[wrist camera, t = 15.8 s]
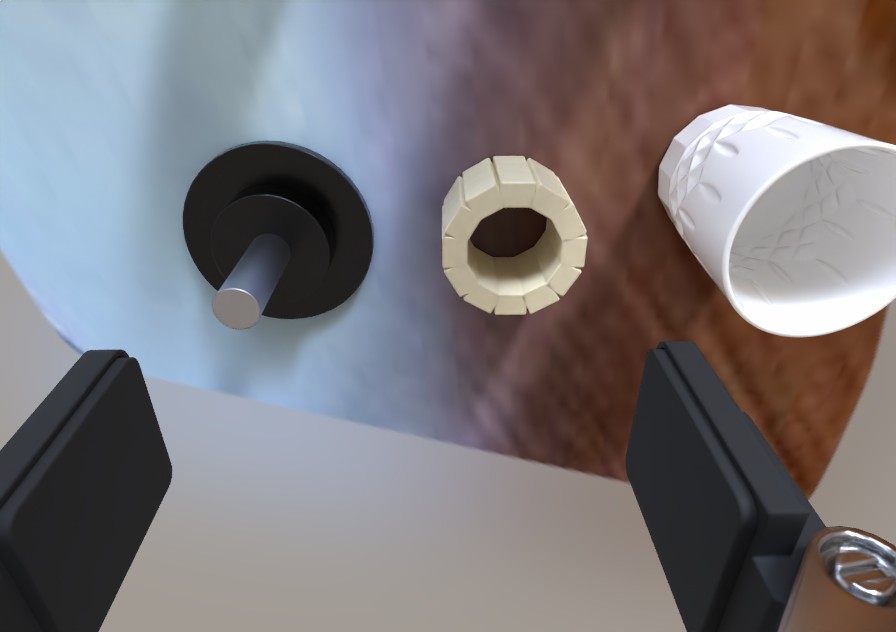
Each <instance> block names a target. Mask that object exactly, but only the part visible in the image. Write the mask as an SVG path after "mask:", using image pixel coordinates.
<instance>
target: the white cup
mask: <svg viewBox="0 0 896 632" xmlns="http://www.w3.org/2000/svg"><path fill="white" fill-rule="evenodd" d="M658 196H659V198H660V200H661V202H662V204H663V206H664V208H665V210H666V212H667V214H668V216H669V218H670V220H671V221H672V222H673V223H674V225H675V227H676V229H677V231H678V232H679V234H680V235H681V237H682V238H683V240H684V241H685V243H686V244H687V245H688V247H689V248H690V250H691V251H692V253H693V254H694V255H695V257H696V259H697V260H698V261H699V263H700V264H701V265H702V267H703V268H704V269H705V271H706V272H707V273H708V275H709V276H710V277H711V278H712V280H713V281H714V282H715V284H716V285H717V286H718V288H719V289H720V290H721V292H722V293H723V294H724V296H725V297H726V298H727V300H728V301H729V302H730V304H731V305H732V306H733V308H734V309H735V310H736V312H737V313H738V314H739V315H740V316H741V317H742V318H743V319H744V320H746V321H747V322H748V323H750V324H751V325H753V326H755V327H756V328H758V329H760V330H763V331H765V332H768V333H771V334H775V335H780V336H786V337H812V336H819V335H824V334H829V333H832V332H836V331H839V330H842V329H845V328H848V327H850V326H852V325H855V324H857V323H859V322H861V321H863V320H865V319H867V318H868V317H870V316H872V315H874V314H875V313H877V312H878V311H880V310H881V309H883V308H884V307H885V306H887V305H888V304H889V303H891V302H892V301H893V300H894V299H895V298H896V146H895V145H891V144H888V143H885V142H881V141H878V140H875V139H871V138H868V137H865V136H861V135H858V134H855V133H852V132H849V131H845V130H842V129H839V128H836V127H833V126H830V125H826V124H823V123H820V122H817V121H813V120H809V119H805V118H801V117H797V116H793V115H790V114H786V113H781V112H776V111H770V110H767V109H764V108H760V107H750V106H741V105H727V106H724V107H722V108H719V109H716V110H713V111H710V112H708V113H705V114H702V115H699V116H698V117H697V118H696V119H694V120H693V121H692V122H691V123H690V124H689V125H688V126H686V127H685V128H684V129H683V130H682V131H681V132H680V133H679V134H677V135H676V136H675V137H674V138H673V140H672V142H671V144H670V146H669V148H668V150H667V152H666V154H665V156H664V158H663V160H662V162H661V164H660V166H659V181H658Z"/></svg>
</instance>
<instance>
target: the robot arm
mask: <svg viewBox="0 0 896 632" xmlns="http://www.w3.org/2000/svg"><path fill="white" fill-rule="evenodd" d="M626 470H627V475H628V478H629V480H630V483H631V486H632V488H633V491H634V494H635V496H636V499H637V501H638V504H639V507H640V509H641V512H642V515H643V517H644V520H645V523H646V525H647V527H648V530H649V533H650V535H651V538H652V541H653V543H654V546H655V549H656V552H657V554H658V557H659V559H660V562H661V565H662V567H663V570H664V572H665V575H666V578H667V580H668V583H669V585H670V588H671V591H672V594H673V596H674V599H675V601H676V604H677V607H678V609H679V612H680V614H681V617H682V620H683V623H684V625H685V628H686V630H687V632H896V547H895V546H894V545H893V544H891V543H889V542H887V541H885V540H884V539H881V538H880V537H878V536H876V535H874V534H871V533H868V532H865V531H863V530H859V529H856V528H850V527H843V526H836V527H826V526H825V525H824V523H823V522H822V520H821V519H820V518H819V516H818V514H817V513H816V512H815V510H814V509H813V507H812V506H811V504H810V503H809V501H808V500H807V499H806V497H805V496H804V494H803V493H802V491H801V490H800V488H799V487H798V486H797V484H796V483H795V481H794V480H793V478H792V477H791V475H790V474H789V473H788V471H787V470H786V468H785V467H784V465H783V464H782V462H781V461H780V460H779V458H778V457H777V455H776V454H775V452H774V451H773V449H772V448H771V446H770V445H769V444H768V442H767V441H766V439H765V438H764V436H763V435H762V433H761V432H760V431H759V429H758V428H757V426H756V425H755V423H754V422H753V420H752V419H751V418H750V417H749V416H748V415H747V414H746V413H745V412H742V411H741V410H740V408H739V407H738V405H737V404H736V403H735V401H734V400H733V398H732V397H731V395H730V394H729V392H728V391H727V389H726V388H725V386H724V385H723V383H722V382H721V380H720V379H719V378H718V376H717V375H716V373H715V372H714V370H713V369H712V367H711V366H710V364H709V363H708V361H707V360H706V358H705V357H704V356H703V354H702V353H701V351H700V350H699V348H698V347H697V345H696V344H695V343H694V342H692V341H663V342H660V343H659V344H658V346H657V348H656V349H651V350H649V351H648V353H647V356H646V361H645V366H644V371H643V375H642V380H641V385H640V390H639V395H638V400H637V405H636V410H635V415H634V419H633V424H632V429H631V434H630V439H629V444H628V449H627V454H626ZM171 478H172V465H171V462H170V459H169V456H168V452H167V449H166V447H165V443H164V440H163V437H162V434H161V431H160V427H159V424H158V421H157V418H156V415H155V412H154V409H153V406H152V403H151V400H150V396H149V394H148V390H147V387H146V384H145V381H144V378H143V375H142V371H141V368H140V365H139V363H138V361H137V360H136V359H135V358H133V357H129V356H128V354H127V353H126V352H125V351H124V350H90V351H87V352H85V353H84V354H83V355H82V356H81V358H80V359H79V360H78V361H77V362H76V363H75V364H74V366H73V367H72V368H71V369H70V370H69V371H68V373H67V374H66V375H65V376H64V377H63V379H62V380H61V381H60V382H59V383H58V384H57V385H56V387H55V388H54V389H53V390H52V391H51V393H50V394H49V395H48V396H47V397H46V398H45V399H44V401H43V402H42V403H41V404H40V405H39V406H38V408H37V409H36V410H35V411H34V412H33V413H32V414H31V416H30V417H29V418H28V419H27V420H26V422H25V423H24V424H23V425H22V426H21V427H20V429H19V430H18V431H17V432H16V433H15V434H14V435H13V437H12V438H11V439H10V440H9V441H8V442H7V444H6V445H5V446H4V447H3V448H2V450H1V451H0V632H98V631H99V629H100V627H101V625H102V623H103V621H104V619H105V617H106V615H107V613H108V611H109V609H110V607H111V605H112V602H113V601H114V599H115V597H116V594H117V592H118V590H119V588H120V586H121V584H122V582H123V580H124V578H125V576H126V574H127V572H128V570H129V568H130V566H131V564H132V562H133V560H134V557H135V555H136V553H137V551H138V549H139V547H140V545H141V543H142V541H143V539H144V537H145V535H146V533H147V531H148V529H149V527H150V524H151V523H152V520H153V518H154V516H155V514H156V512H157V510H158V508H159V506H160V504H161V502H162V500H163V498H164V496H165V494H166V492H167V490H168V488H169V485H170V482H171Z"/></svg>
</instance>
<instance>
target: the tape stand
mask: <svg viewBox="0 0 896 632" xmlns="http://www.w3.org/2000/svg"><path fill="white" fill-rule="evenodd" d="M183 229H184V235H185V240H186V243H187V247H188V250H189V252H190V254H191V257H192V259H193V261H194V263H195V264H196V266H197V268H198V269H199V271H200V272H201V274H202V275H203V276H204V277H205V279H206V280H207V281H208V282H209V283H210V284H211V285H212V286H213V287H214V288H215V289H216V290H217V291H218V292H217V294H216V295H215V297H214V299H213V303H212V308H213V312H214V314H215V316H216V318H217V319H218V320H219V321H220V322H221V323H222V324H224V325H226V326H227V327H230V328H233V329H246V328H249V327H252V326H253V325H254V324H256V323H257V321H258V320H259V318H260V316H261V315H264V316H267V317H273V318H280V319H300V318H307V317H312V316H316V315H319V314H322V313H325V312H327V311H329V310H332V309H334V308H335V307H337V306H338V305H340V304H342V303H343V302H344V301H345V300H347V299H348V298H349V297H350V296H351V295H352V294H353V293H354V292H355V291H356V290H357V289H358V287H359V286H360V284H361V283H362V281H363V280H364V278H365V276H366V273H367V271H368V269H369V266H370V262H371V259H372V254H373V247H374V232H373V224H372V220H371V216H370V213H369V210H368V208H367V205H366V203H365V200H364V199H363V197H362V195H361V194H360V192H359V190H358V189H357V187H356V186H355V185H354V183H353V182H352V181H351V179H350V178H349V177H348V176H347V175H346V174H345V173H344V172H343V171H342V170H341V169H340V168H338V167H337V166H336V165H335V164H333V163H332V162H331V161H329V160H328V159H326V158H324V157H323V156H321V155H320V154H318V153H315V152H313V151H311V150H309V149H307V148H304V147H301V146H298V145H295V144H290V143H285V142H278V141H258V142H251V143H246V144H242V145H239V146H236V147H233V148H231V149H229V150H227V151H225V152H223V153H221V154H220V155H218V156H217V157H216V158H214V159H213V160H212V161H210V162H209V163H208V164H207V165H206V166H205V167H204V168H203V169H202V170H201V171H200V172H199V173H198V175H197V176H196V178H195V179H194V181H193V182H192V184H191V186H190V189H189V191H188V193H187V196H186V200H185V203H184V211H183Z"/></svg>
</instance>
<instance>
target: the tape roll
mask: <svg viewBox="0 0 896 632" xmlns="http://www.w3.org/2000/svg"><path fill="white" fill-rule="evenodd" d="M462 175H463V178H462V177H460V176H458V177H457V179H456V181H455V182H454V184H453V186H452V187H451V189H450V191H449V192H448V194H447V196H446V197H445V199H444V205H443V206H442V267H443V268H444V273H445V275H446V277H447V278H448V280H449V281H450V283H451V284H452V286H453V287H454V289H455V291H456V292H457V294H458V295H459V296H460V297H461V296H463V299H464V301H466V302H468V303H470V304H472V305H474V306H476V307H478V308H480V309H482V310H484V311H486V312H488V313H491V312H492V311H493V309H494V313H495V315H525V314H526V311H527V309H528V311H529V312H530V314H532V313H534V312H536V311H538V310H540V309H542V308H544V307H546V306H548V305H550V304H552V303H554V302H557V301H559V297H558V294H559V295H561V296H564V295H565V293H566V292H567V291H568V289H569V288H570V287H571V285H572V284H573V283H574V282H575V280H576V279H577V278H578V276H579V275H580V274H581V269H580V267H584V262H585V254H586V246H587V236H586V234H585V233H587V231H586V229H585V227H584V225H583V223H582V221H581V219H580V216H579V214H578V212H577V210H576V208H575V206H574V204H573V203H572V201H571V199H570V197H569V196H568V194H567V192H566V190H565V189H564V187H563V185H562V183H561V182H560V180H559V178H558V176H555V174H554V172H553V171H551V170H549V169H548V168H546V167H544V166H543V165H541V164H539V163H538V162H536V161H534V160H533V159H531V158H528V159H527V160H525V157H524V156H494V157H493V164H492V162H491V160H490V158H487V159H485V160H483V161H481V162H480V163H478V164H476V165H474V166H472V167H471V168H469V169H467V170H465V171H464V172H463V173H462ZM502 208H531V209H533V210H535V211H537V212H538V213H540V214H542V215H543V216H545V217H547V221H546V230H545V232H544V233H543V234H542V236H541V237H540V239H539V240H538V242H537V243H536V244H535V246H534V247H532V248H530V249H528V250H527V251H525V252H523V253H521V254H519V255H517V256H515V257H492V256H490V255H488V254H486V253H484V252H482V251H480V250H479V249H477V248H475V247H474V245H473V244H472V242H471V240H470V239H469V238H470V237H471V235H472V234H473V232H474V230H475V229H476V227H477V226H478V224H479V223H480V221H481V220H482V219H484V218H486V217H488V216H489V215H491V214H493V213H495V212H497V211H499V210H501V209H502Z"/></svg>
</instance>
